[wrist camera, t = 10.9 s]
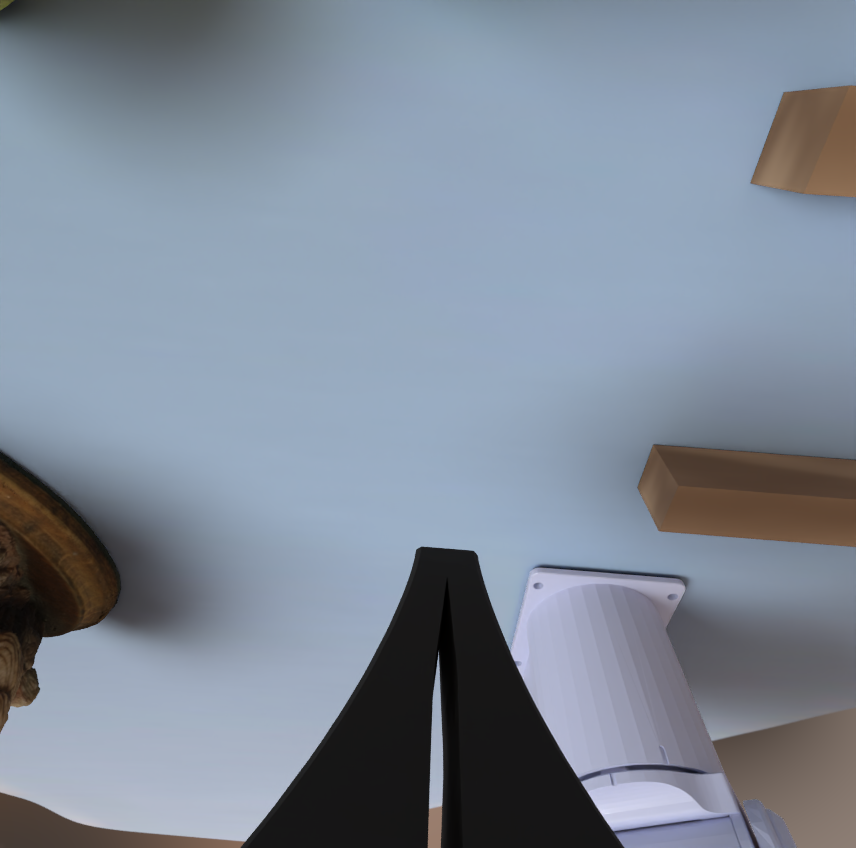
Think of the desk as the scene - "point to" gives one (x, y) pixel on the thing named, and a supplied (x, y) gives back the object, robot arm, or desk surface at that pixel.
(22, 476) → the tan lumpy statue
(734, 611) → the desk surface
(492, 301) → the desk surface
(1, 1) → the plant pot
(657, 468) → the wooden rail pair
